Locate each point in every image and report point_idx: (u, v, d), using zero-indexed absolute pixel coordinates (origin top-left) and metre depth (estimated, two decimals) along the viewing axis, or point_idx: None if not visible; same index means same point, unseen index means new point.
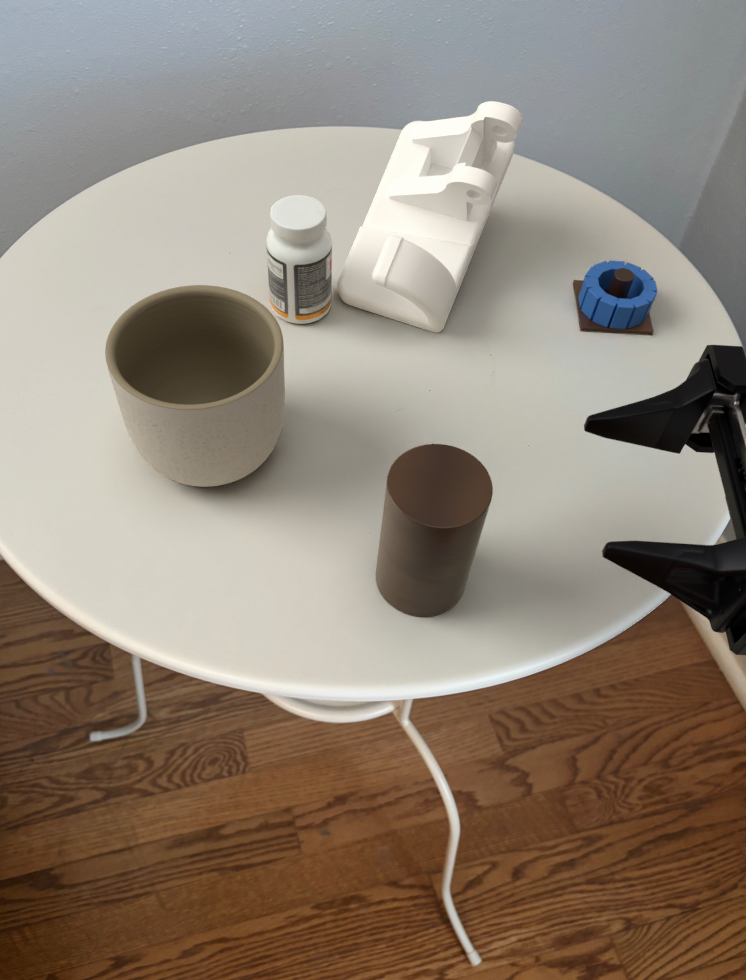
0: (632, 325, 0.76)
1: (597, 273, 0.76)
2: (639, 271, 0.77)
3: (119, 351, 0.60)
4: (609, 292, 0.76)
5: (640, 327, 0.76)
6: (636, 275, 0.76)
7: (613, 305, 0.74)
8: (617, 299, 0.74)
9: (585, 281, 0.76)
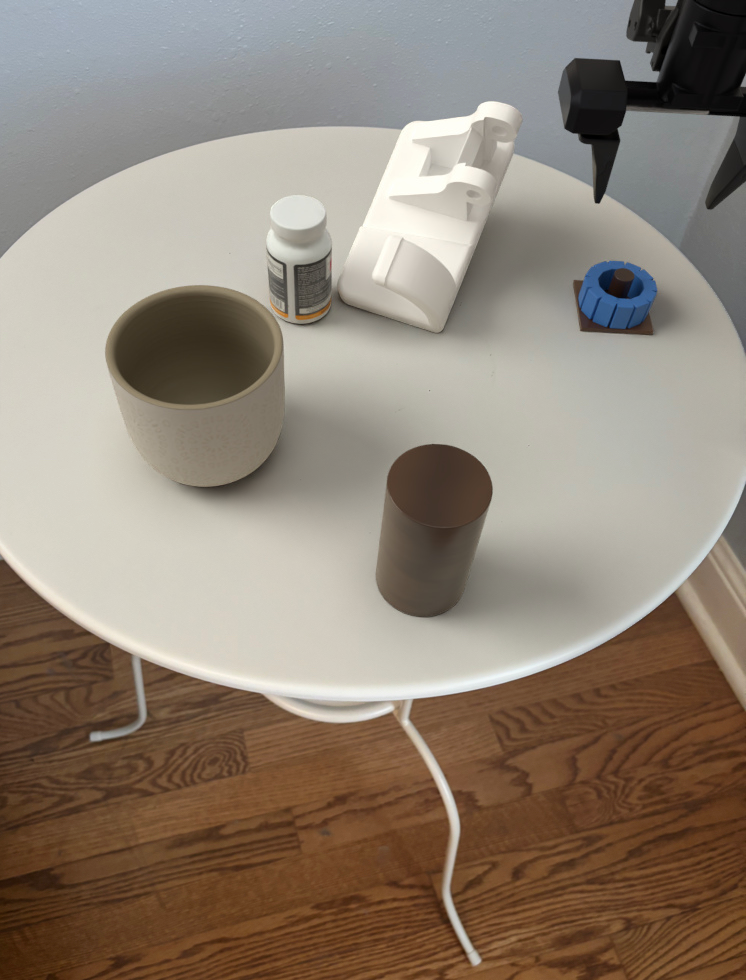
0: (632, 325, 0.76)
1: (597, 273, 0.76)
2: (639, 271, 0.77)
3: (119, 351, 0.60)
4: (609, 292, 0.76)
5: (640, 327, 0.76)
6: (636, 275, 0.76)
7: (613, 305, 0.74)
8: (617, 299, 0.74)
9: (585, 281, 0.76)
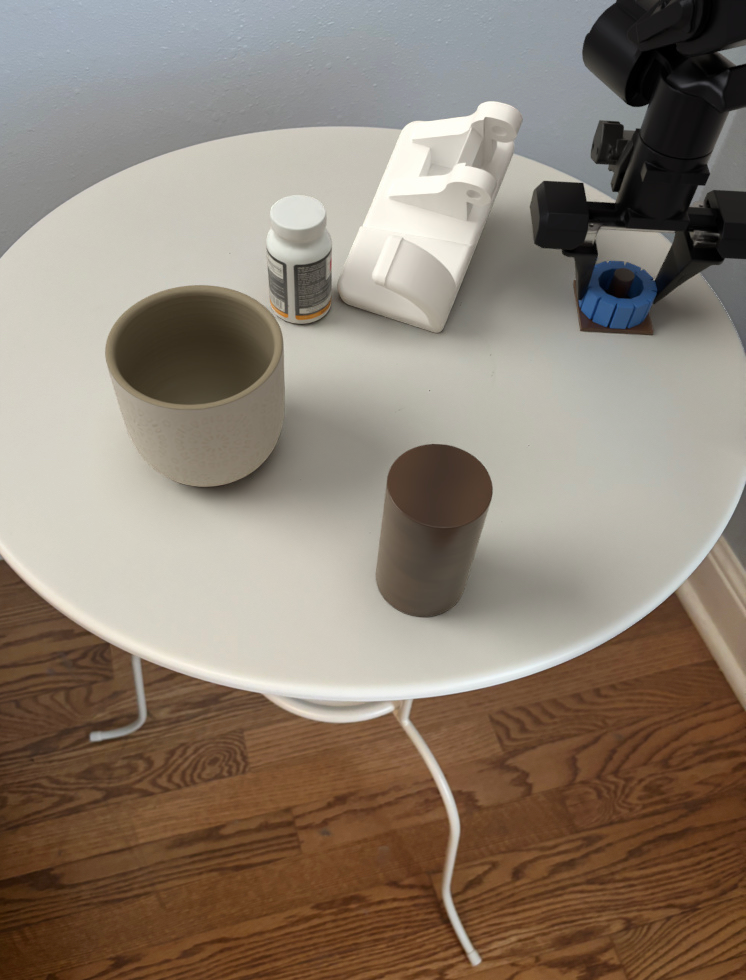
0: (632, 325, 0.76)
1: (597, 273, 0.76)
2: (639, 271, 0.77)
3: (119, 351, 0.60)
4: (609, 292, 0.76)
5: (640, 327, 0.76)
6: (636, 275, 0.76)
7: (613, 305, 0.74)
8: (617, 299, 0.74)
9: None
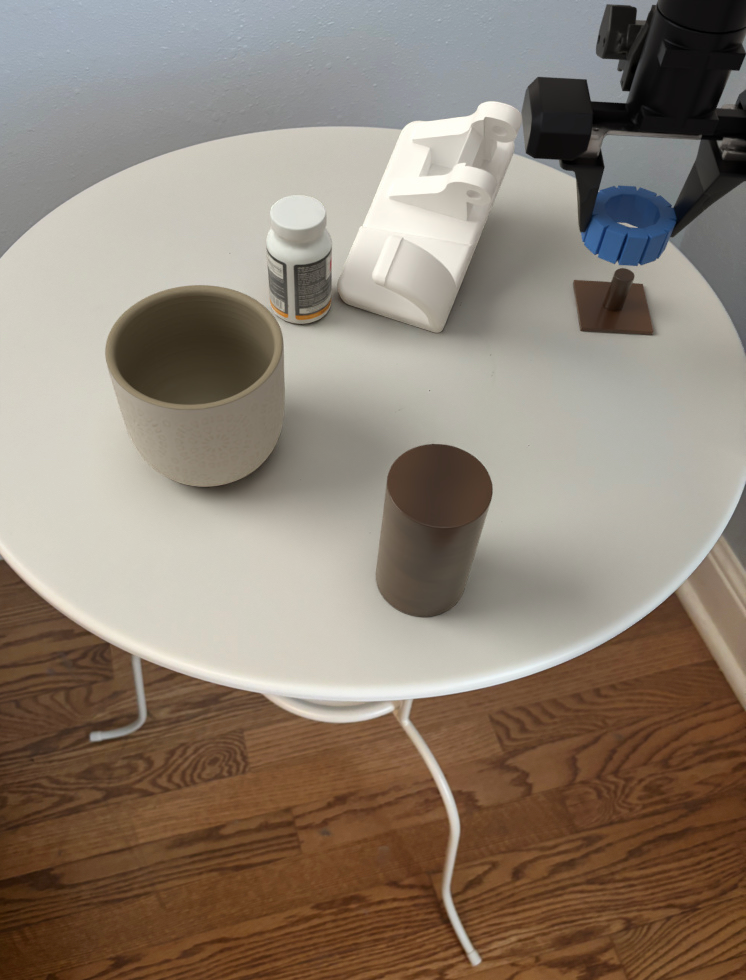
0: (646, 261, 0.63)
1: (604, 199, 0.63)
2: (654, 197, 0.63)
3: (119, 351, 0.60)
4: (609, 292, 0.76)
5: (640, 327, 0.76)
6: (651, 202, 0.63)
7: (623, 235, 0.61)
8: (628, 228, 0.61)
9: None
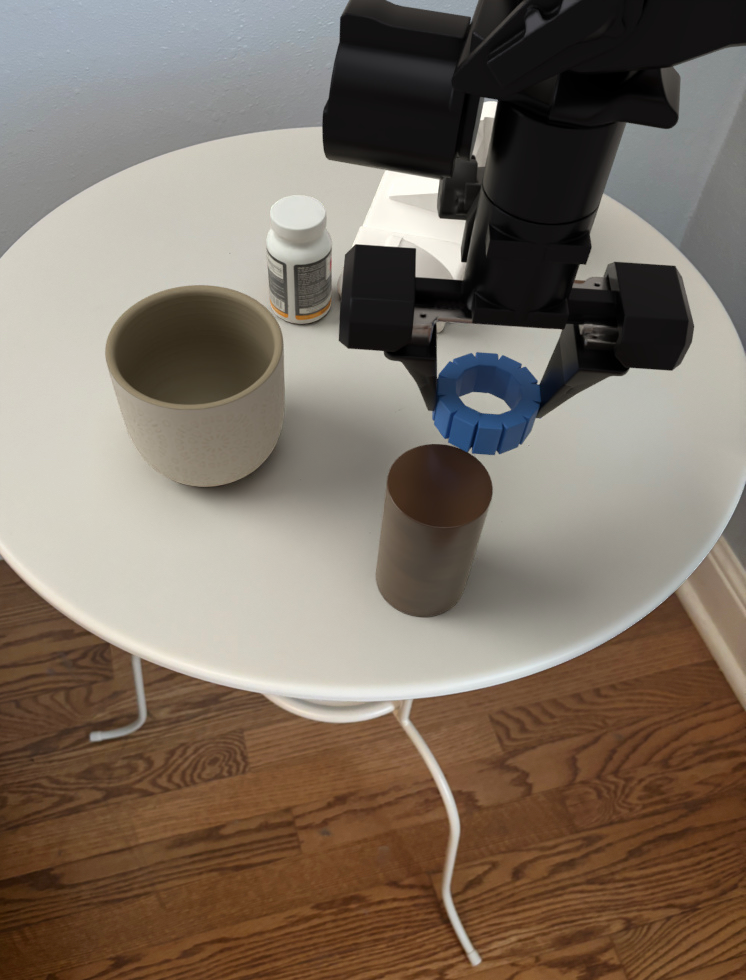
0: (505, 450, 0.52)
1: (456, 373, 0.52)
2: (518, 370, 0.53)
3: (119, 351, 0.60)
4: None
5: None
6: (513, 376, 0.52)
7: (472, 424, 0.50)
8: (479, 415, 0.50)
9: (437, 385, 0.52)
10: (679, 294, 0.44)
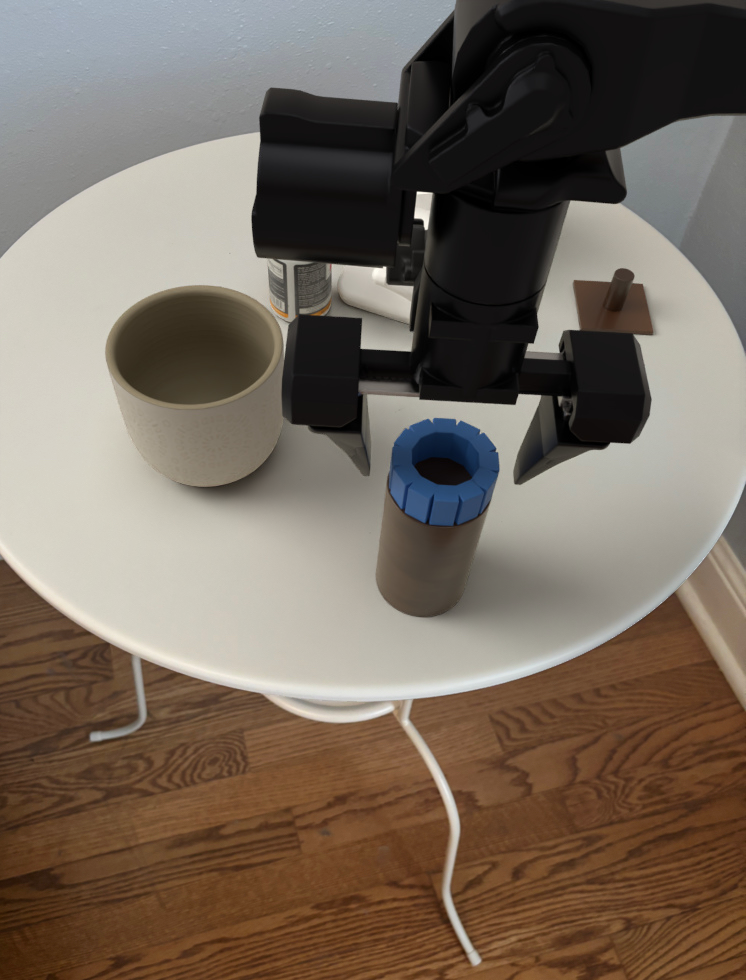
0: (463, 520, 0.50)
1: (412, 441, 0.51)
2: (476, 436, 0.51)
3: (119, 351, 0.60)
4: (609, 292, 0.76)
5: (640, 327, 0.76)
6: (471, 443, 0.51)
7: (427, 497, 0.48)
8: (435, 486, 0.49)
9: (392, 454, 0.50)
10: (636, 365, 0.43)
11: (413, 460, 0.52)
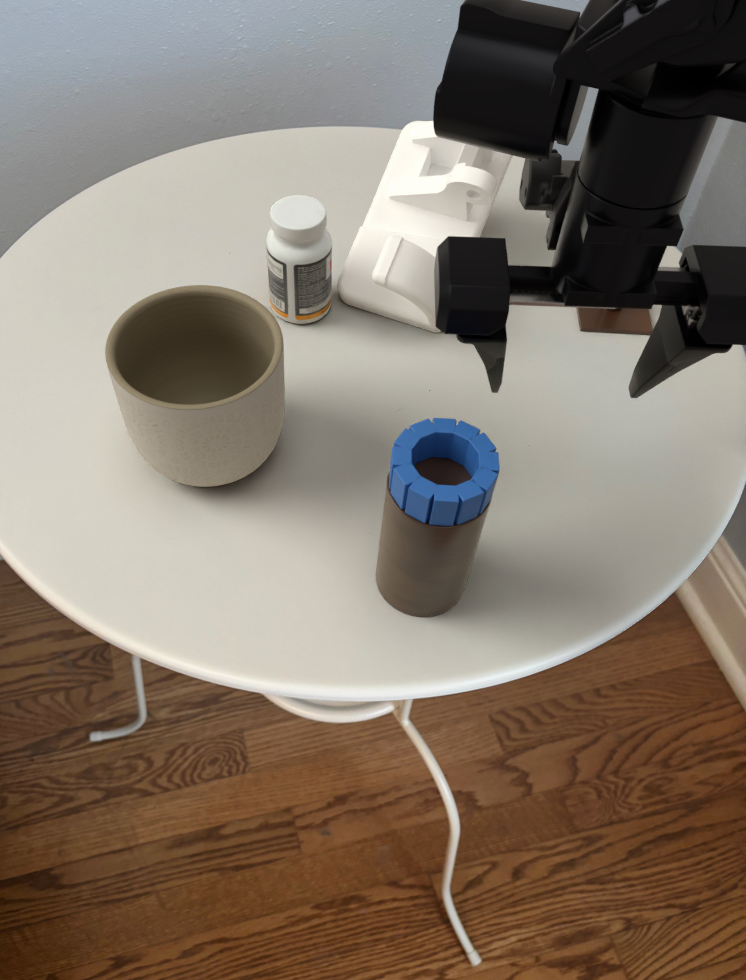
0: (463, 520, 0.50)
1: (412, 441, 0.51)
2: (476, 436, 0.51)
3: (119, 351, 0.60)
4: None
5: (640, 327, 0.76)
6: (471, 443, 0.51)
7: (427, 497, 0.48)
8: (435, 486, 0.49)
9: (392, 454, 0.50)
10: None
11: (413, 460, 0.52)
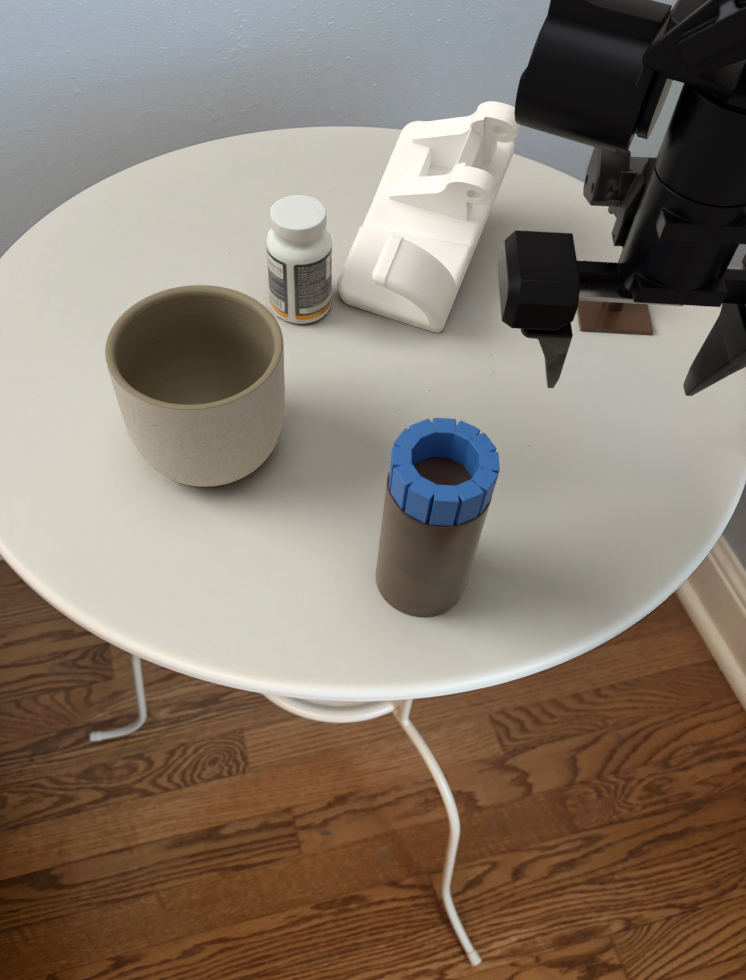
0: (463, 520, 0.50)
1: (412, 441, 0.51)
2: (476, 436, 0.51)
3: (119, 351, 0.60)
4: None
5: (640, 327, 0.76)
6: (471, 443, 0.51)
7: (427, 497, 0.48)
8: (435, 486, 0.49)
9: (392, 454, 0.50)
10: None
11: (413, 460, 0.52)
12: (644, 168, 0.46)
